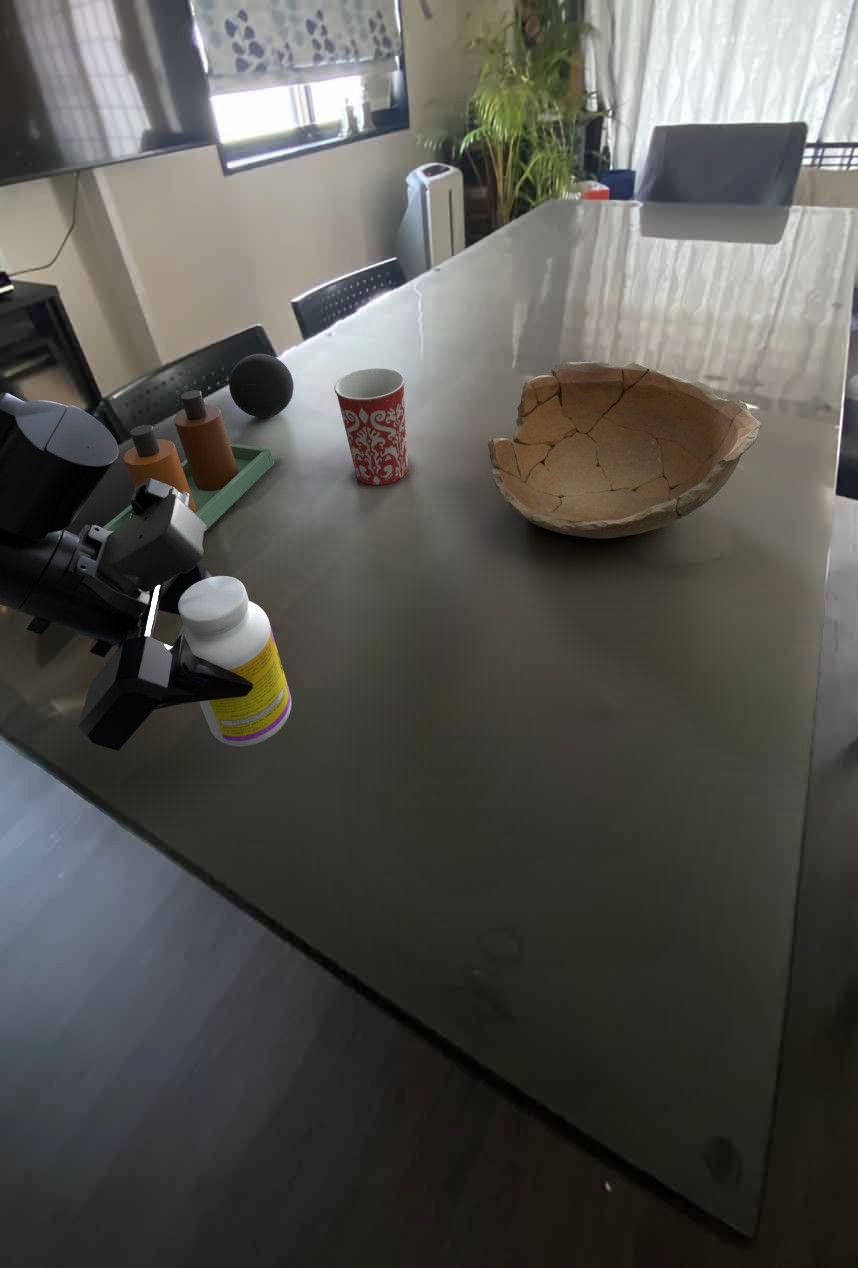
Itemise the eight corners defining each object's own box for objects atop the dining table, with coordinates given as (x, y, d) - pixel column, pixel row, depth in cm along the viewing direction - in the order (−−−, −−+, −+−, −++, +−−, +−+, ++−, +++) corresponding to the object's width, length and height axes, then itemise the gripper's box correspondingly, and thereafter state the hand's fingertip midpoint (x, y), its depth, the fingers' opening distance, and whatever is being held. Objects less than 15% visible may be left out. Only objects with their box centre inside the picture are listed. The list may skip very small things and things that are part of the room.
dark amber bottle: (222, 493, 92) (195, 407, 84) (186, 487, 94) (157, 402, 86) (247, 470, 96) (223, 386, 89) (212, 465, 98) (186, 382, 91)
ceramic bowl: (440, 506, 83) (448, 388, 76) (548, 443, 103) (562, 345, 95) (682, 604, 68) (721, 467, 61) (755, 509, 87) (791, 397, 80)
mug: (409, 490, 90) (398, 397, 82) (342, 489, 91) (326, 398, 84) (423, 442, 100) (414, 355, 92) (363, 442, 102) (349, 356, 94)
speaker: (250, 435, 106) (234, 375, 100) (229, 412, 113) (213, 355, 107) (308, 415, 110) (296, 357, 104) (284, 394, 117) (272, 338, 111)
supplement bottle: (310, 708, 55) (279, 590, 48) (243, 766, 51) (199, 647, 44) (258, 670, 59) (222, 555, 52) (193, 720, 55) (144, 604, 48)
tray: (122, 612, 75) (114, 595, 73) (50, 594, 78) (41, 577, 77) (274, 464, 98) (270, 448, 97) (213, 455, 102) (209, 440, 100)
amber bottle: (177, 535, 85) (144, 445, 77) (139, 528, 87) (103, 439, 79) (206, 508, 89) (177, 420, 82) (170, 501, 91) (138, 415, 84)
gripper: (63, 580, 34) (321, 685, 41) (128, 412, 49) (308, 512, 56) (-32, 713, 37) (221, 787, 45) (55, 519, 52) (234, 599, 60)
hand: (251, 655), depth 51 cm, fingers closed on supplement bottle, 6 cm apart
